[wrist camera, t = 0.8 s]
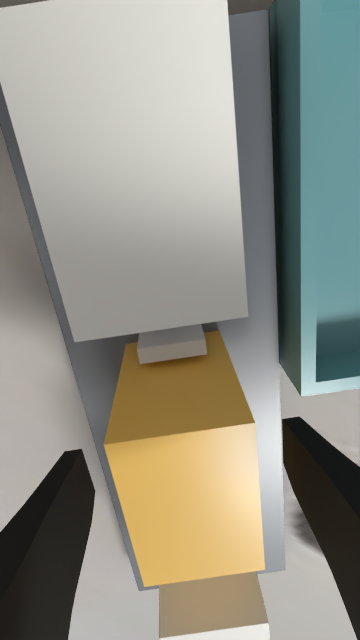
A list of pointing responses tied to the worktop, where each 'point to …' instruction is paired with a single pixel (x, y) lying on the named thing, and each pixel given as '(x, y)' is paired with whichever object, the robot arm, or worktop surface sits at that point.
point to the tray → (317, 190)
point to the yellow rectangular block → (186, 466)
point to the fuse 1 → (130, 157)
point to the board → (238, 334)
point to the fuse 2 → (213, 609)
